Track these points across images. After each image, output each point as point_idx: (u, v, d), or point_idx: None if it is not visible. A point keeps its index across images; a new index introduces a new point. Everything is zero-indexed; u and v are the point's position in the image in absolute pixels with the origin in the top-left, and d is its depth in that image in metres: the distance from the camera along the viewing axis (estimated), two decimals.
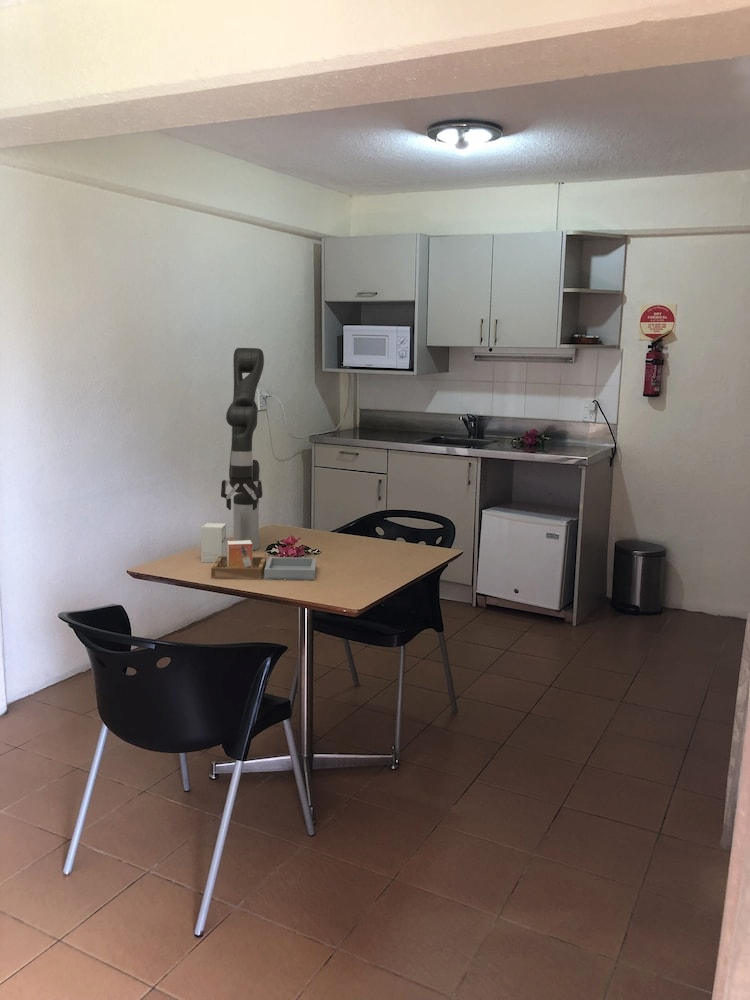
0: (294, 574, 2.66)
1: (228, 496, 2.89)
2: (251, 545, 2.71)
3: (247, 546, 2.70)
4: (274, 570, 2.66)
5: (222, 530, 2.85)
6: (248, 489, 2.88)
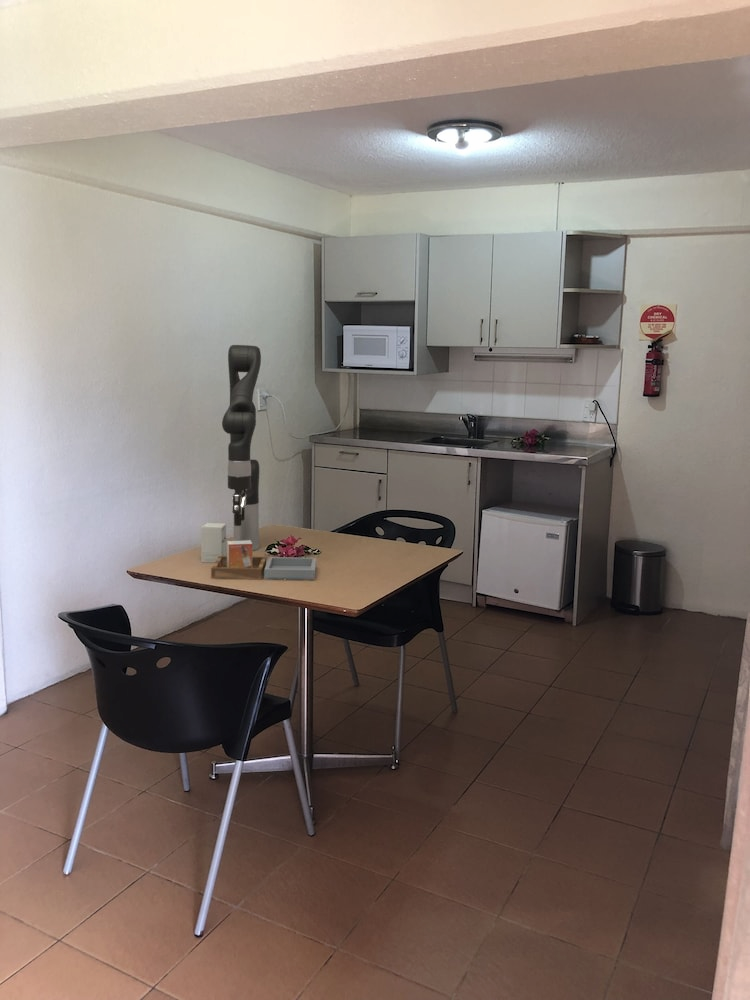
0: (294, 574, 2.66)
1: (241, 511, 2.66)
2: (251, 545, 2.71)
3: (247, 546, 2.70)
4: (274, 570, 2.66)
5: (222, 530, 2.85)
6: (245, 499, 2.72)
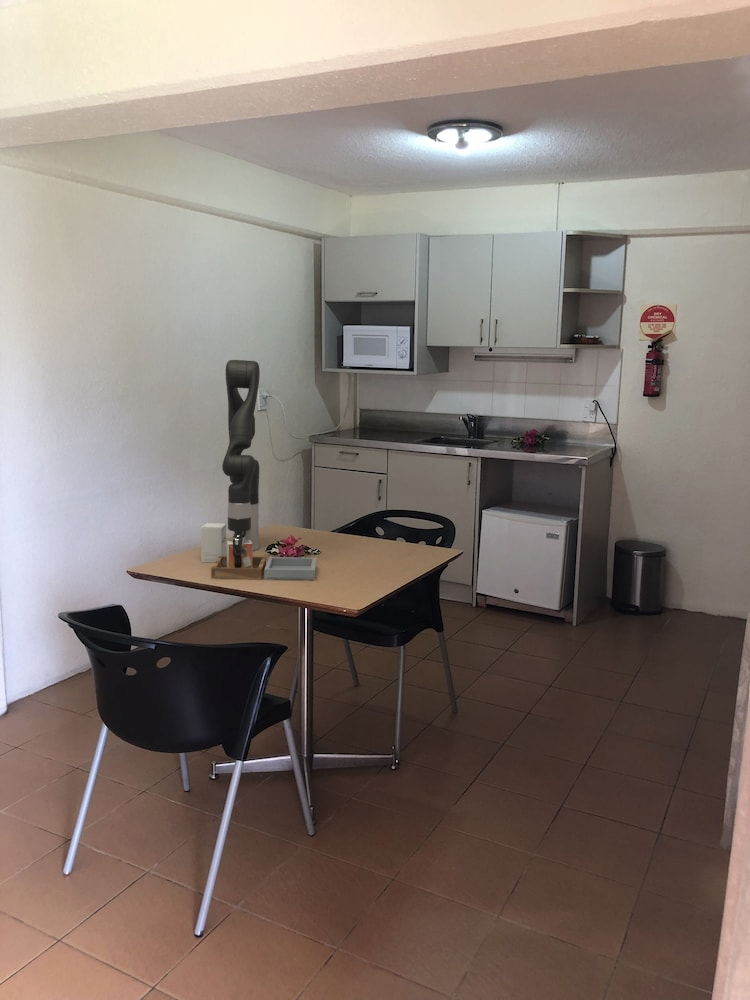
0: (294, 574, 2.66)
1: (241, 553, 2.69)
2: (251, 545, 2.71)
3: (247, 546, 2.70)
4: (274, 570, 2.66)
5: (222, 530, 2.85)
6: (245, 540, 2.74)
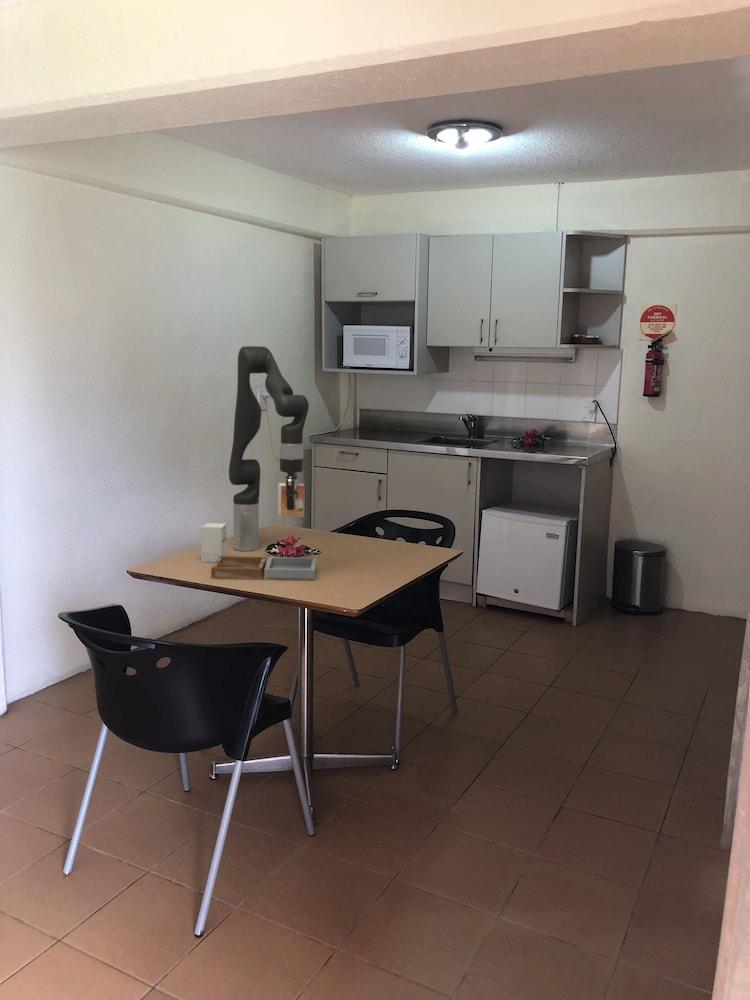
0: (294, 574, 2.66)
1: None
2: (303, 487, 2.68)
3: (299, 487, 2.67)
4: (274, 570, 2.66)
5: (222, 530, 2.85)
6: None
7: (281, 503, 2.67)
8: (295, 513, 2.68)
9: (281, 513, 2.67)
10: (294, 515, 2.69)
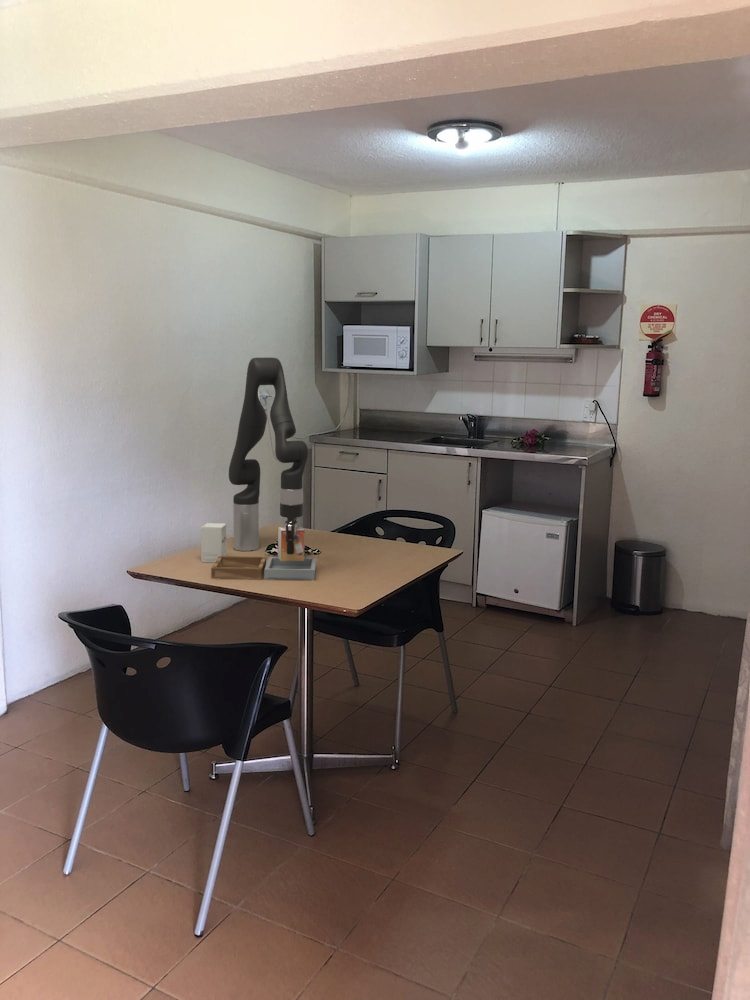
0: (294, 574, 2.66)
1: None
2: (303, 531, 2.70)
3: (299, 532, 2.70)
4: (274, 570, 2.66)
5: (222, 530, 2.85)
6: None
7: (281, 548, 2.69)
8: (295, 557, 2.71)
9: (281, 557, 2.70)
10: (294, 559, 2.71)
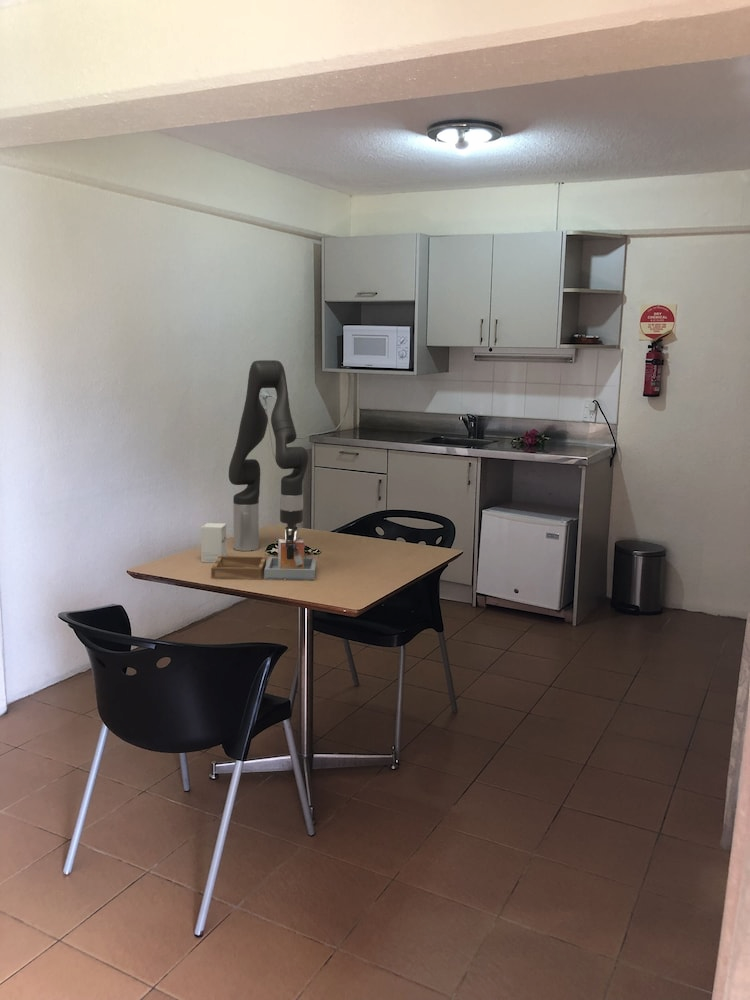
0: (294, 574, 2.66)
1: None
2: (303, 543, 2.71)
3: (299, 544, 2.71)
4: (274, 570, 2.66)
5: (222, 530, 2.85)
6: None
7: (281, 560, 2.70)
8: None
9: None
10: None
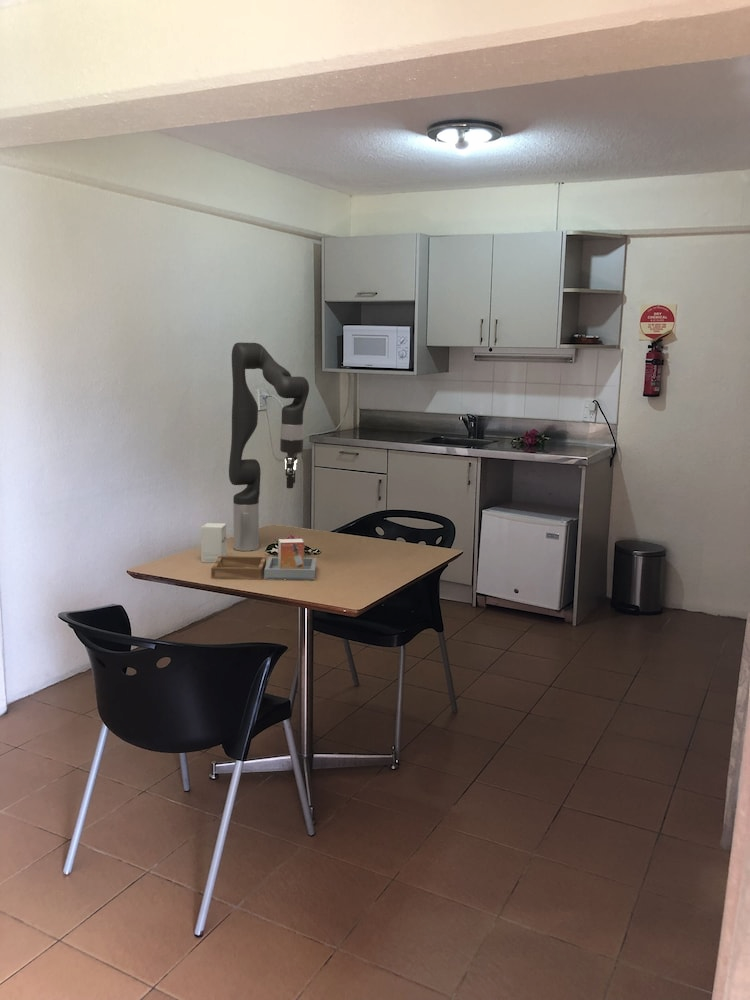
0: (294, 574, 2.66)
1: (293, 474, 2.71)
2: (303, 543, 2.71)
3: (299, 544, 2.71)
4: (274, 570, 2.66)
5: (222, 530, 2.85)
6: None
7: (281, 560, 2.70)
8: None
9: None
10: None
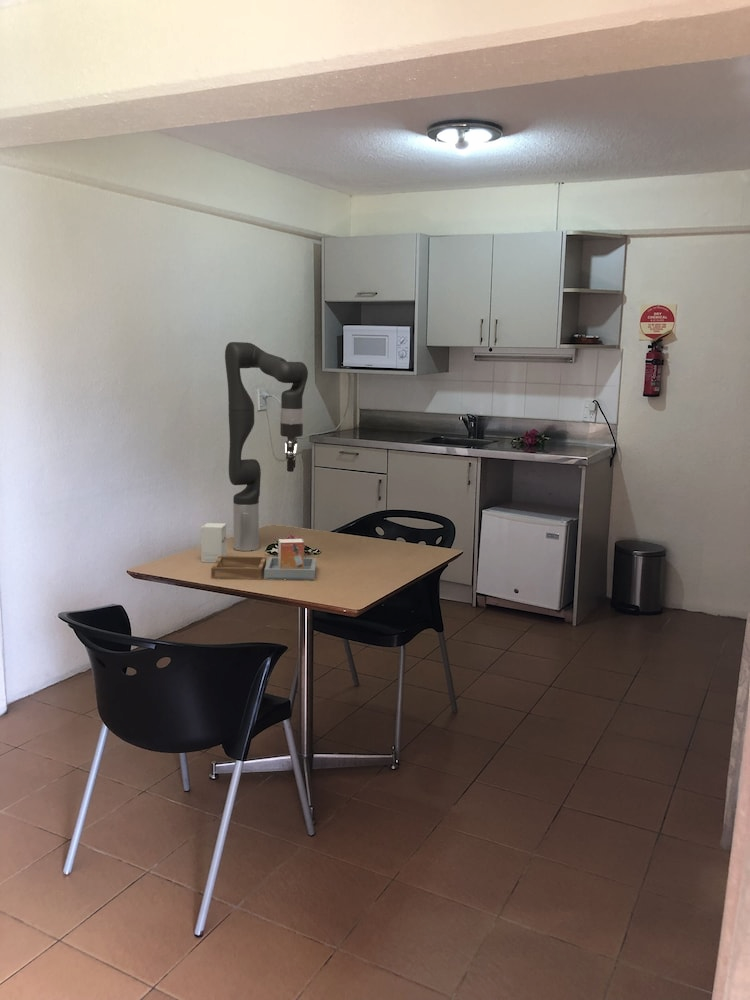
0: (294, 574, 2.66)
1: (294, 457, 2.75)
2: (303, 543, 2.71)
3: (299, 544, 2.71)
4: (274, 570, 2.66)
5: (222, 530, 2.85)
6: (296, 447, 2.82)
7: (281, 560, 2.70)
8: None
9: None
10: None
